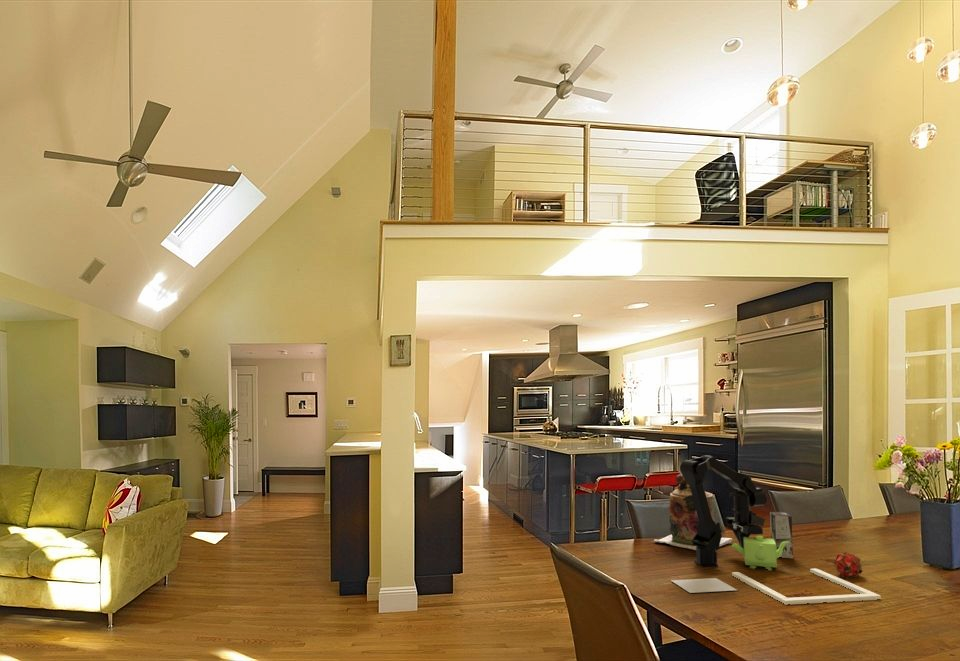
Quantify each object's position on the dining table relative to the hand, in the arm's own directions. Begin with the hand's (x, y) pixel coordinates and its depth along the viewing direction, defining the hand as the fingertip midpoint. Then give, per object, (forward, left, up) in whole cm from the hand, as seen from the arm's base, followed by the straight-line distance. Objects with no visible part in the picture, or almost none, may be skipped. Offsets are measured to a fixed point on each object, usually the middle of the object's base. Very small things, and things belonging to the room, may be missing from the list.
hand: (743, 548), depth 258 cm
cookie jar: (-8, +27, -4) cm, 28 cm away
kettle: (0, -12, -4) cm, 13 cm away
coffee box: (+18, +3, -4) cm, 19 cm away
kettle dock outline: (0, -36, -4) cm, 36 cm away
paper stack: (-36, -35, -4) cm, 50 cm away
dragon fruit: (+24, -27, -4) cm, 36 cm away
